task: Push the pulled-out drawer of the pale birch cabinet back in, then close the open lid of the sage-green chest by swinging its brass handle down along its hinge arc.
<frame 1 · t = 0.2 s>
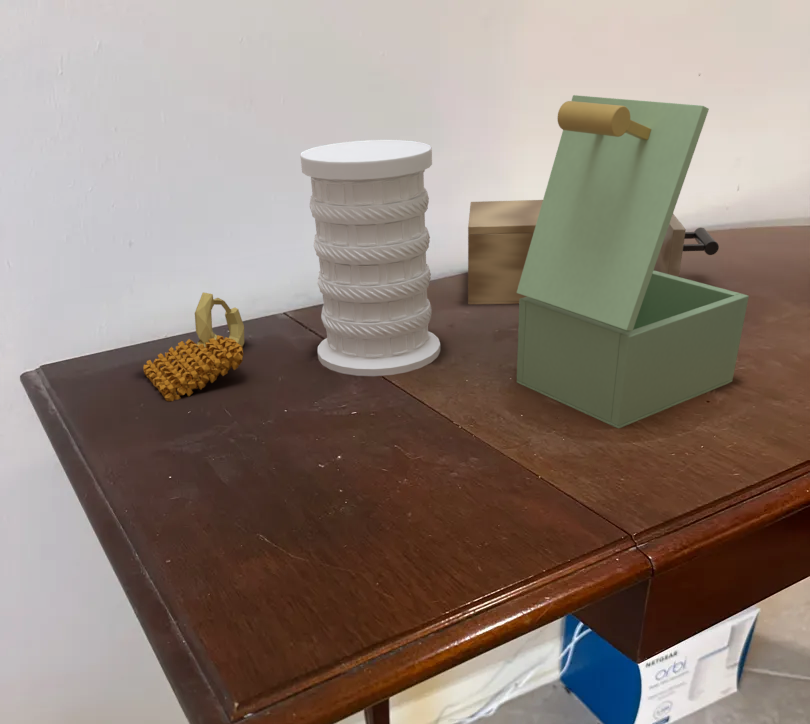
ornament: (209, 376, 76), on the table
drawer: (632, 250, 88), point 4 cm above the table, slide at 7.0 cm
decorative container: (379, 360, 77), on the table
lid: (583, 204, 57), point 16 cm above the table, hinge at 70.0°
cabinet: (529, 292, 92), on the table
chest: (622, 388, 69), on the table
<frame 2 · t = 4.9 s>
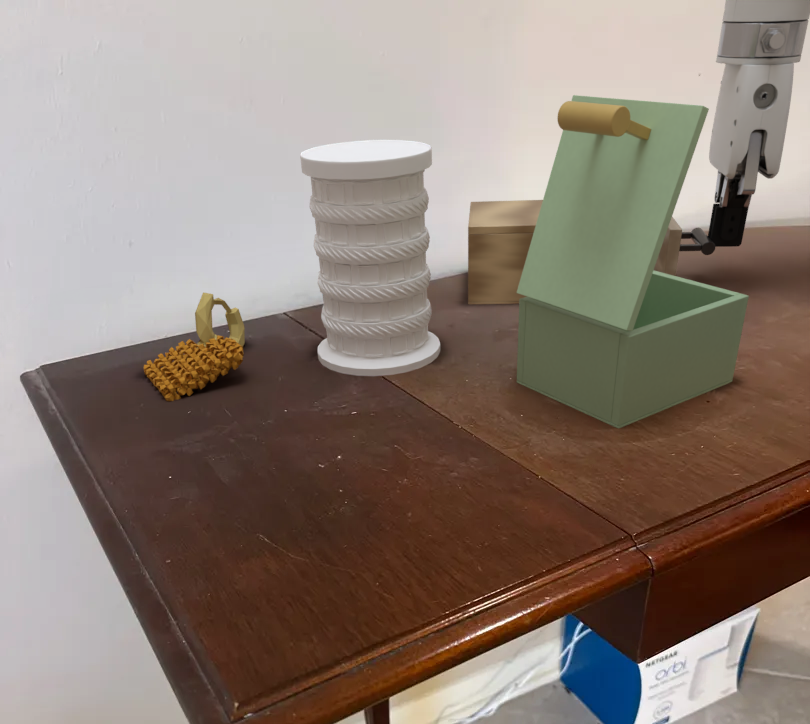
hand: (723, 244, 87), 5 cm above the table, tool pointing down, fingers closed
drawer: (628, 250, 88), point 4 cm above the table, slide at 6.7 cm, touching gripper
everything else where it was.
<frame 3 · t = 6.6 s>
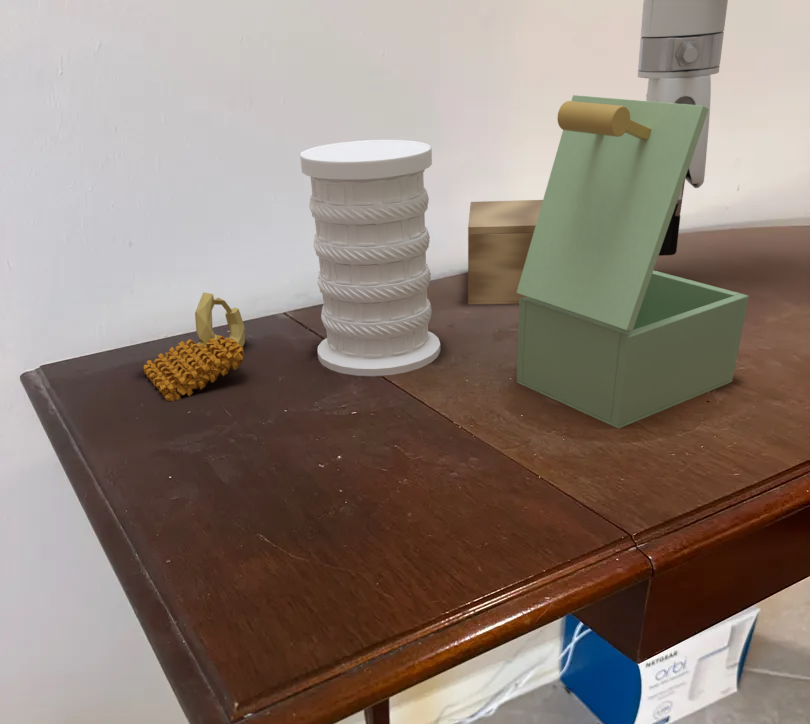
hand: (659, 253, 88), 4 cm above the table, tool pointing down, fingers closed
drawer: (566, 252, 89), point 4 cm above the table, slide at 0.0 cm, touching cabinet, gripper
everything else where it was.
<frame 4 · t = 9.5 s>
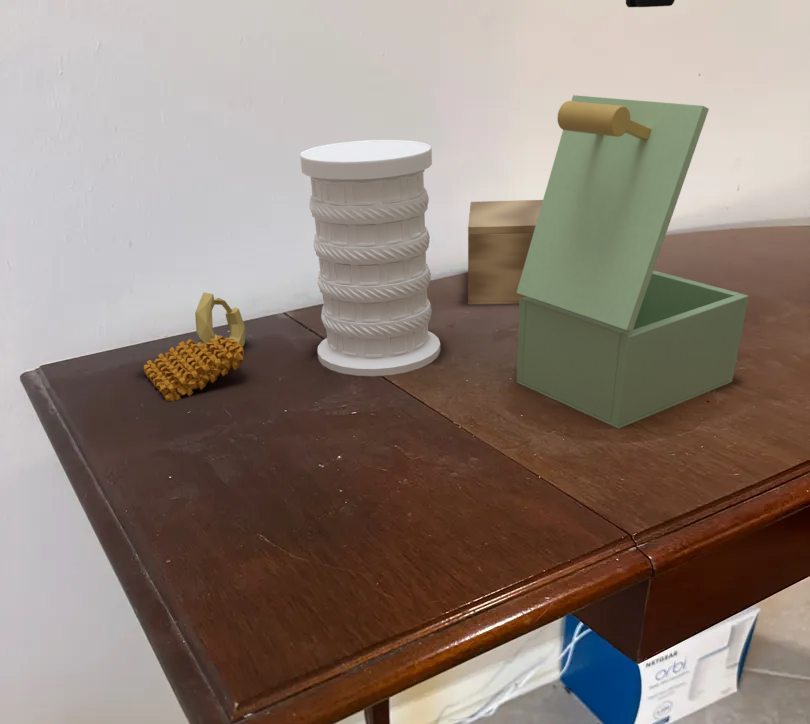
hand: (649, 5, 59), 27 cm above the table, tool pointing down, fingers closed
drawer: (566, 252, 89), point 4 cm above the table, slide at 0.0 cm, touching cabinet
everything else where it was.
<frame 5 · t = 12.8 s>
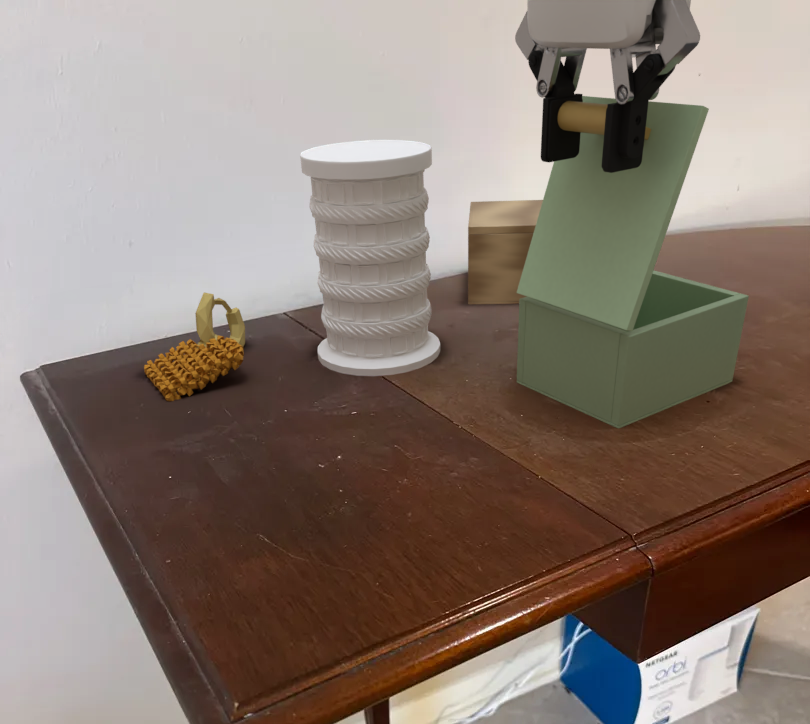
hand: (589, 161, 56), 18 cm above the table, tool pointing down, fingers closed on lid, 5 cm apart
lid: (583, 204, 57), point 16 cm above the table, hinge at 70.0°, touching gripper
everything else where it was.
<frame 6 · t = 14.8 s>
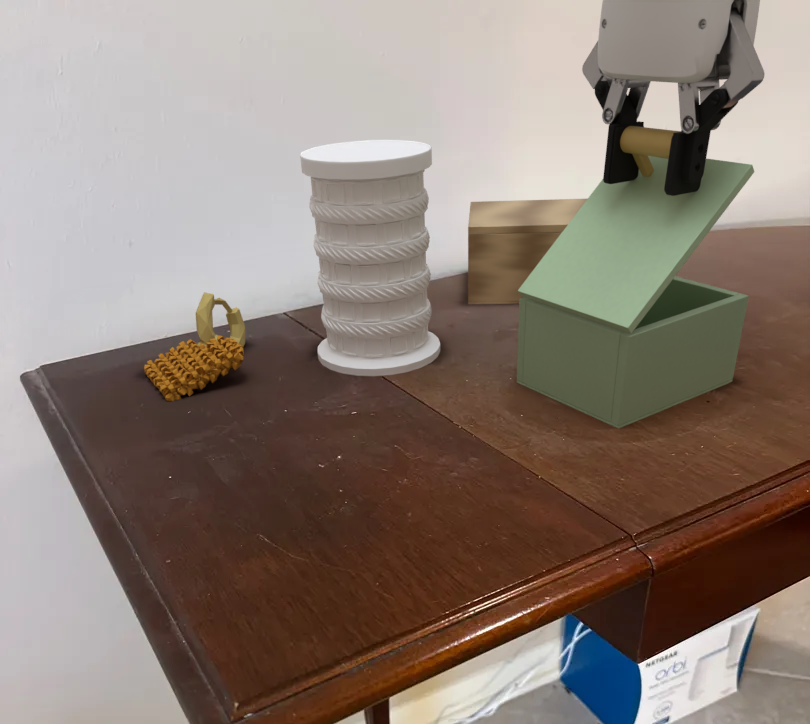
hand: (650, 184, 60), 16 cm above the table, tool pointing down, fingers closed on lid, 5 cm apart
lid: (618, 215, 60), point 14 cm above the table, hinge at 39.2°, touching gripper
everything else where it was.
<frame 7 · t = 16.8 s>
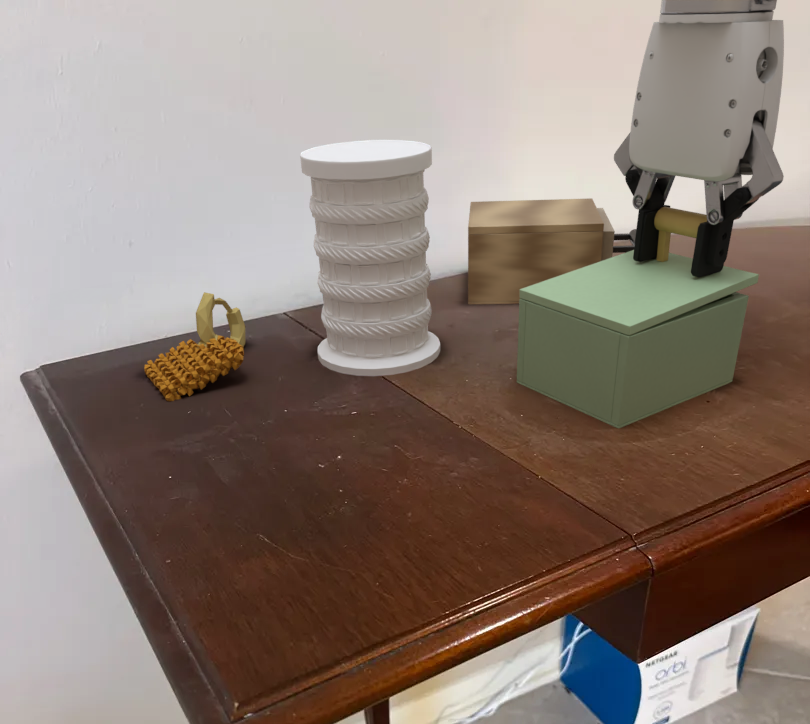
hand: (676, 263, 66), 9 cm above the table, tool pointing down, fingers open, 5 cm apart
lid: (639, 259, 63), point 11 cm above the table, hinge at 2.9°
everything else where it was.
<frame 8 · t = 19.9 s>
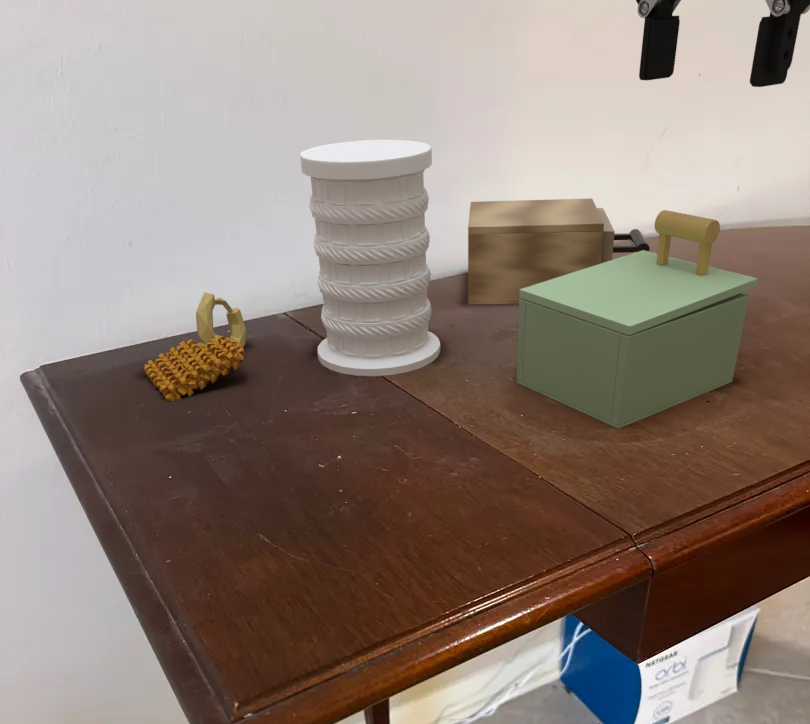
hand: (708, 81, 59), 22 cm above the table, tool pointing down, fingers open, 9 cm apart
lid: (639, 261, 63), point 11 cm above the table, hinge at 1.7°
everything else where it was.
at the end: drawer slide at 0.0 cm; lid at +2° (first picture: +70°) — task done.
